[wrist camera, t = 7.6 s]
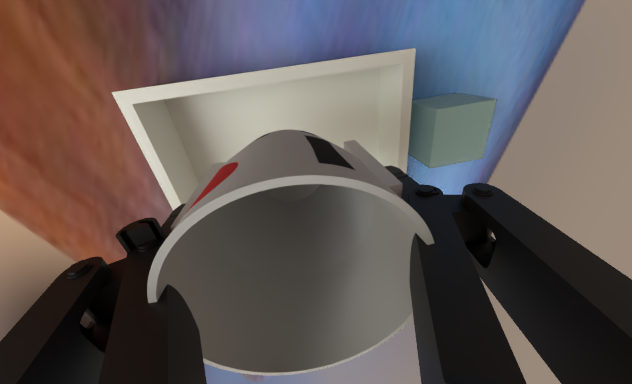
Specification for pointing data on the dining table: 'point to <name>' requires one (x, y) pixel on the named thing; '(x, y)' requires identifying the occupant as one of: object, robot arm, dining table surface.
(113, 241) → the dining table surface
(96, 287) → the robot arm
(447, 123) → the cube
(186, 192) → the tote
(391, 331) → the cup
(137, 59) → the dining table surface
